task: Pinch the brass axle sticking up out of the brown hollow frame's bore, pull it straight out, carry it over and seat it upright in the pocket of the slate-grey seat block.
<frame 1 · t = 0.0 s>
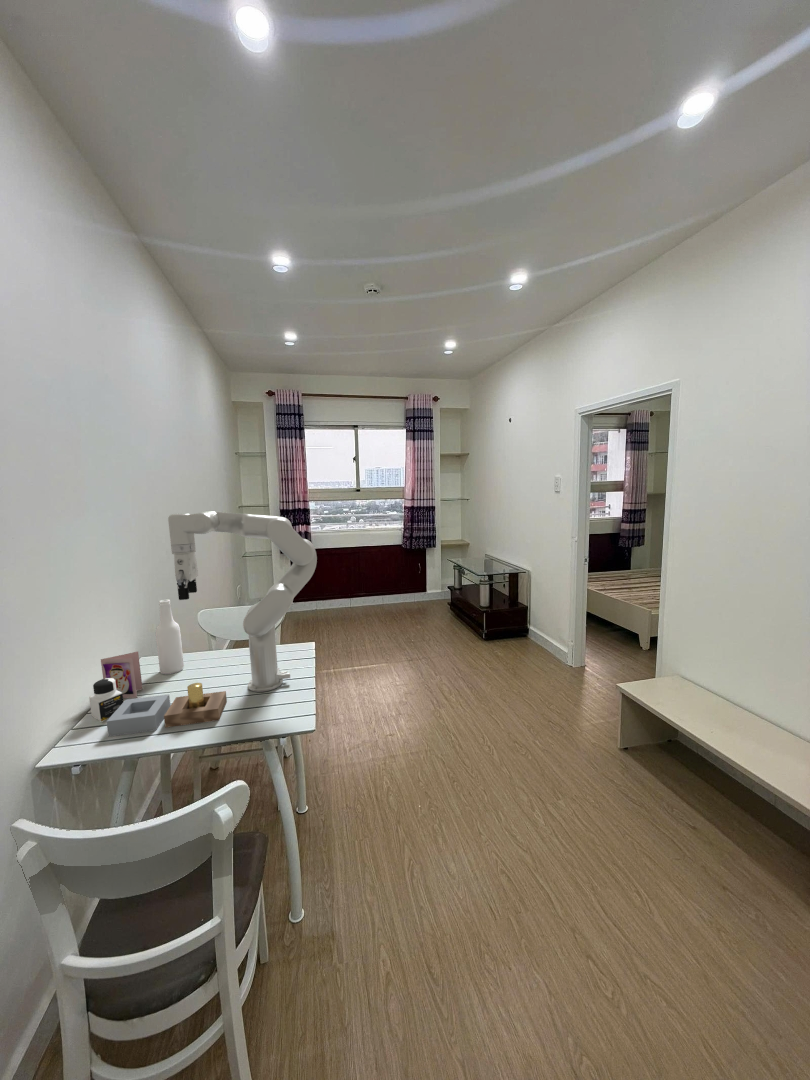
hand: (188, 595, 149), 37 cm above the table, tool pointing down, fingers open, 9 cm apart
brown hollow frame: (197, 714, 139), on the table
medicine bottle: (108, 714, 141), on the table
greeting card: (126, 694, 154), on the table
slate seat block: (141, 721, 136), on the table
alcohol: (172, 670, 174), on the table
brass axle: (196, 700, 139), in the brown hollow frame
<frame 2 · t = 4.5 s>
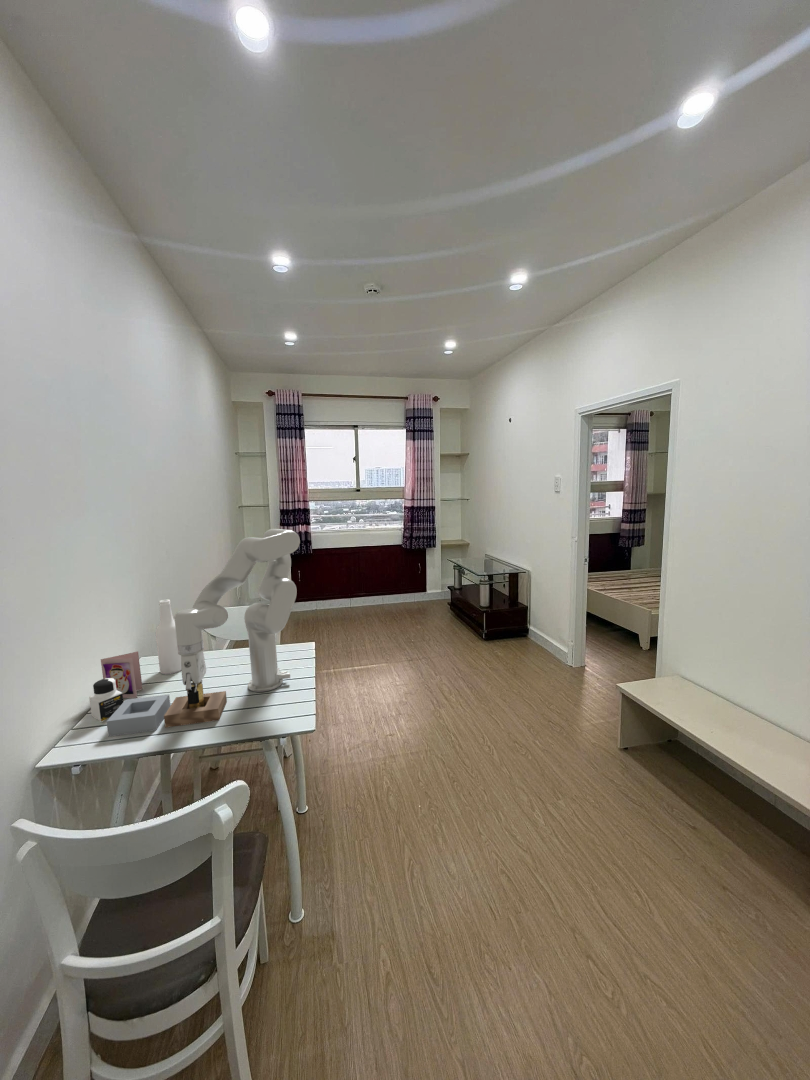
hand: (196, 698, 138), 5 cm above the table, tool pointing down, fingers closed on brass axle, 4 cm apart
brass axle: (196, 700, 139), in the brown hollow frame, touching gripper
everything else where it was.
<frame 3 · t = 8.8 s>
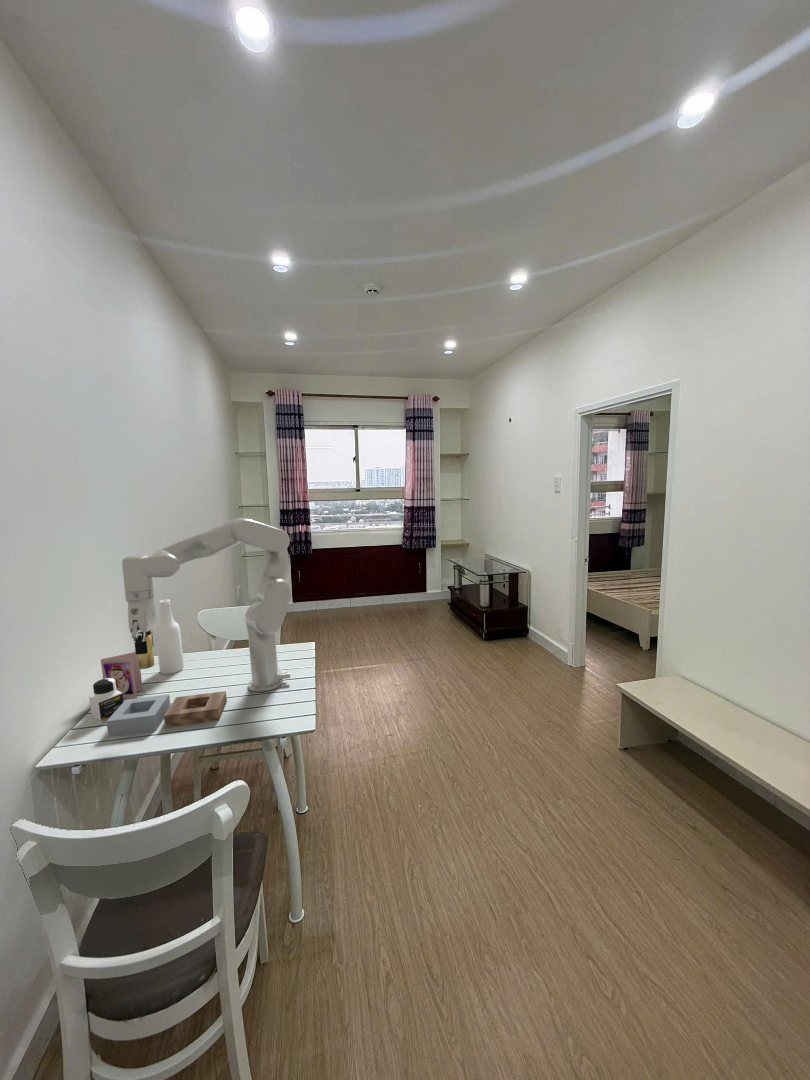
hand: (144, 650, 133), 24 cm above the table, tool pointing down, fingers closed on brass axle, 4 cm apart
brass axle: (145, 651, 133), point 24 cm above the table, touching gripper
everything else where it was.
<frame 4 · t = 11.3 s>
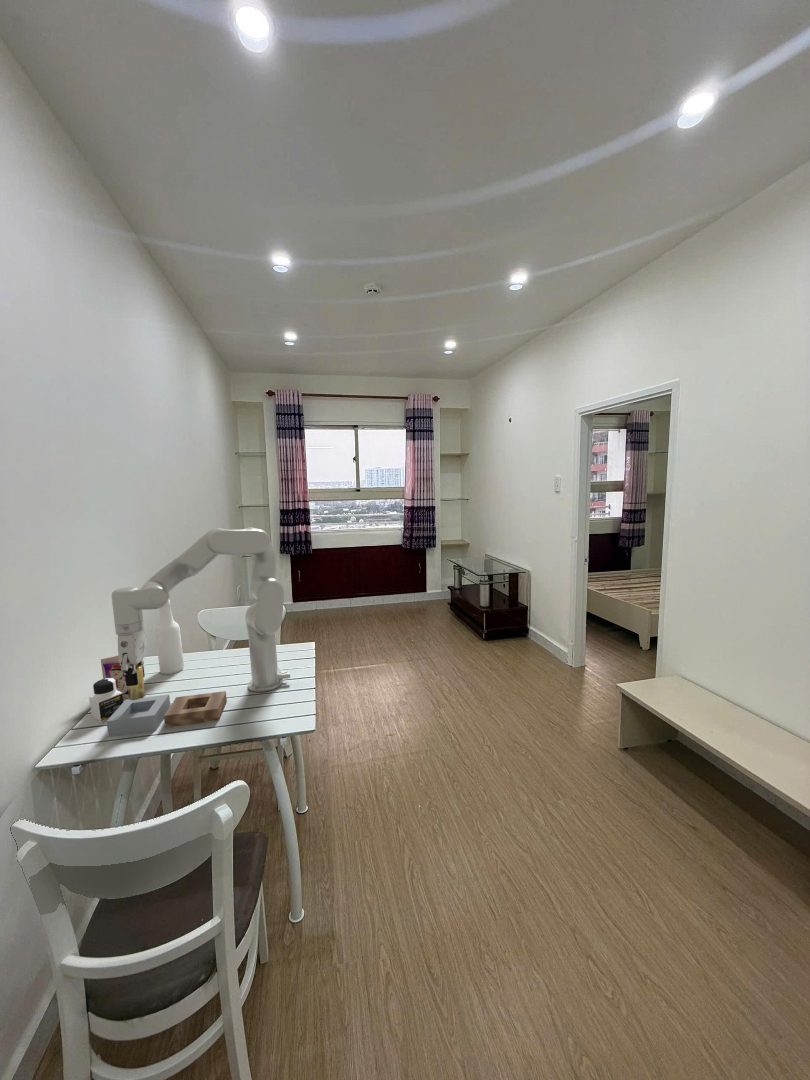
hand: (135, 681, 134), 14 cm above the table, tool pointing down, fingers closed on brass axle, 4 cm apart
brass axle: (135, 682, 134), point 14 cm above the table, touching gripper
everything else where it was.
when the fingers open (8 cm above the table, at t = 13.1 s): brass axle stays where it is, resting on slate seat block.
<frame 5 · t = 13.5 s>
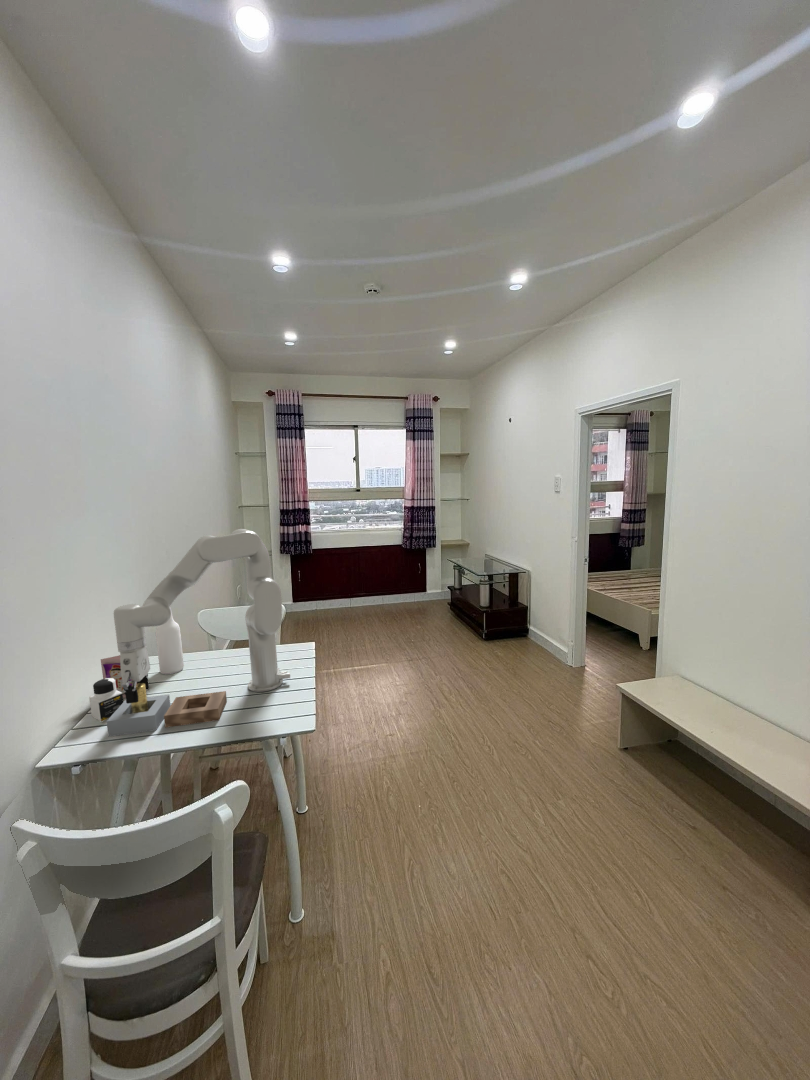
hand: (138, 695, 135), 9 cm above the table, tool pointing down, fingers open, 8 cm apart
brass axle: (139, 700, 135), in the slate seat block, point 7 cm above the table
everything else where it was.
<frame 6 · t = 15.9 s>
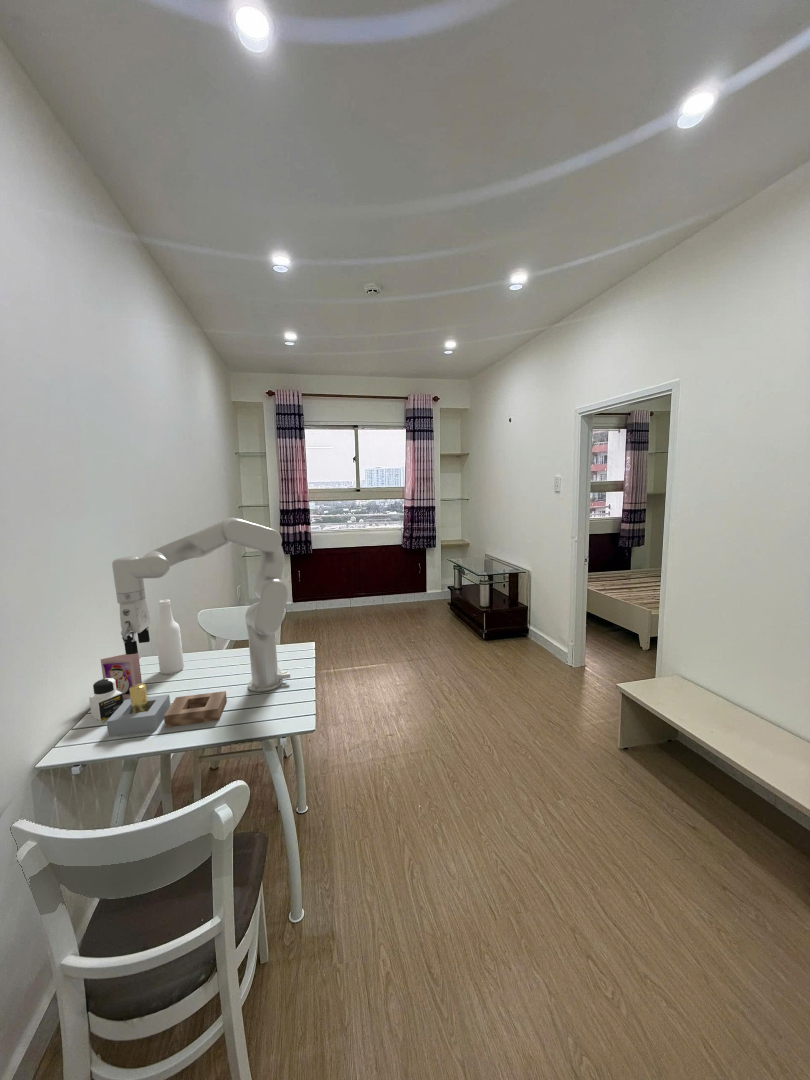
hand: (138, 647, 134), 25 cm above the table, tool pointing down, fingers open, 9 cm apart
nothing on the table moved.
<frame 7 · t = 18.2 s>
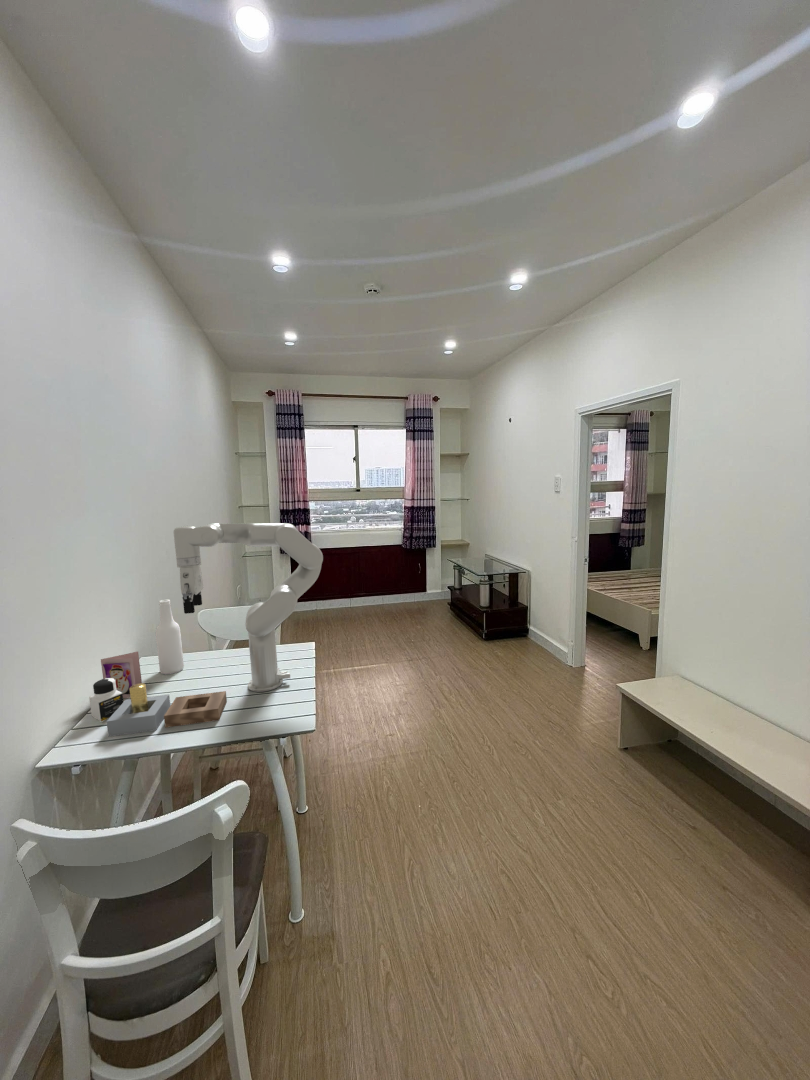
hand: (193, 609, 148), 32 cm above the table, tool pointing down, fingers open, 9 cm apart
nothing on the table moved.
at the end: brass axle 0.1 cm off-centre on the slate seat block, point 7.0 cm above the slate seat block's base; brass axle tilted 0°; the gripper is holding nothing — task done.
